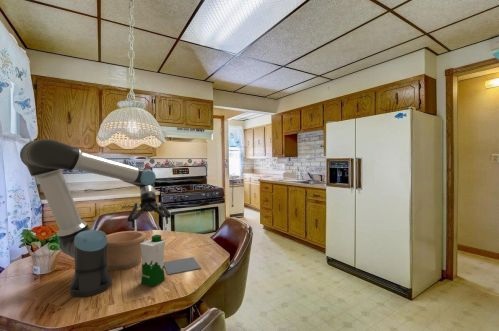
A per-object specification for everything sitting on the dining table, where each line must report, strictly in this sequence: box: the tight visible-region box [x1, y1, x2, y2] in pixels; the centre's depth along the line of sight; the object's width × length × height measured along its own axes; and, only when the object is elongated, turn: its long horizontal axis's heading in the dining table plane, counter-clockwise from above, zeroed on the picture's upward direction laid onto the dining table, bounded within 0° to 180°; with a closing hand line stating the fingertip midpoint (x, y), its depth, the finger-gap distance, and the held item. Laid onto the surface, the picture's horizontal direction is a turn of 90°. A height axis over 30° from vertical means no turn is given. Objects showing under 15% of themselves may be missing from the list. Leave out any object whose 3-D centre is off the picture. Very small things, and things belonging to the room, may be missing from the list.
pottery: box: [106, 230, 147, 271], centre depth 133 cm, size 22×22×14 cm
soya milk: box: [140, 234, 166, 288], centre depth 113 cm, size 9×9×20 cm
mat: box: [164, 256, 202, 276], centre depth 130 cm, size 16×16×1 cm
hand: (151, 231), depth 123 cm, fingers open, 13 cm apart
